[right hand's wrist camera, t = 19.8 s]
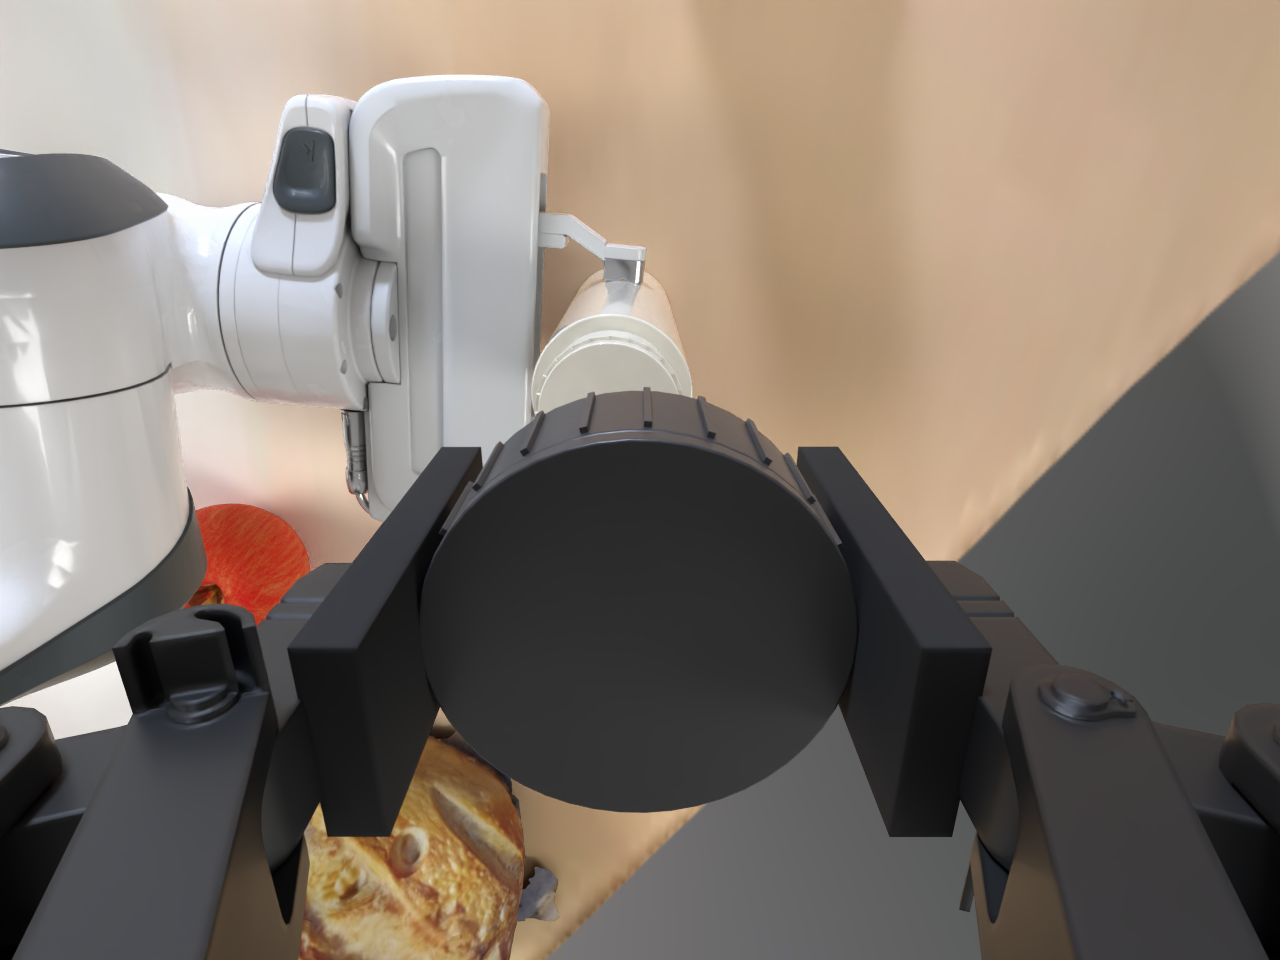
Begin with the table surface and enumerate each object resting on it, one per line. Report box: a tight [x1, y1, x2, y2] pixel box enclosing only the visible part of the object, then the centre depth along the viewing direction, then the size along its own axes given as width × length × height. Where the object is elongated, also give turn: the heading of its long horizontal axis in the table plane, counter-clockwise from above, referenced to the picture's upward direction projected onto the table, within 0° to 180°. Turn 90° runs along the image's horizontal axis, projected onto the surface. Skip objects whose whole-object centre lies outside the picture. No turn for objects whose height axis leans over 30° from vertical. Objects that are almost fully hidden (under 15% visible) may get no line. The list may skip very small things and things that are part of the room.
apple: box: [183, 504, 310, 627], centre depth 41 cm, size 8×8×8 cm
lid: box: [419, 387, 858, 813], centre depth 11 cm, size 6×6×2 cm
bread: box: [298, 731, 559, 960], centre depth 47 cm, size 25×27×15 cm
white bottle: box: [531, 269, 693, 417], centre depth 31 cm, size 5×5×19 cm
